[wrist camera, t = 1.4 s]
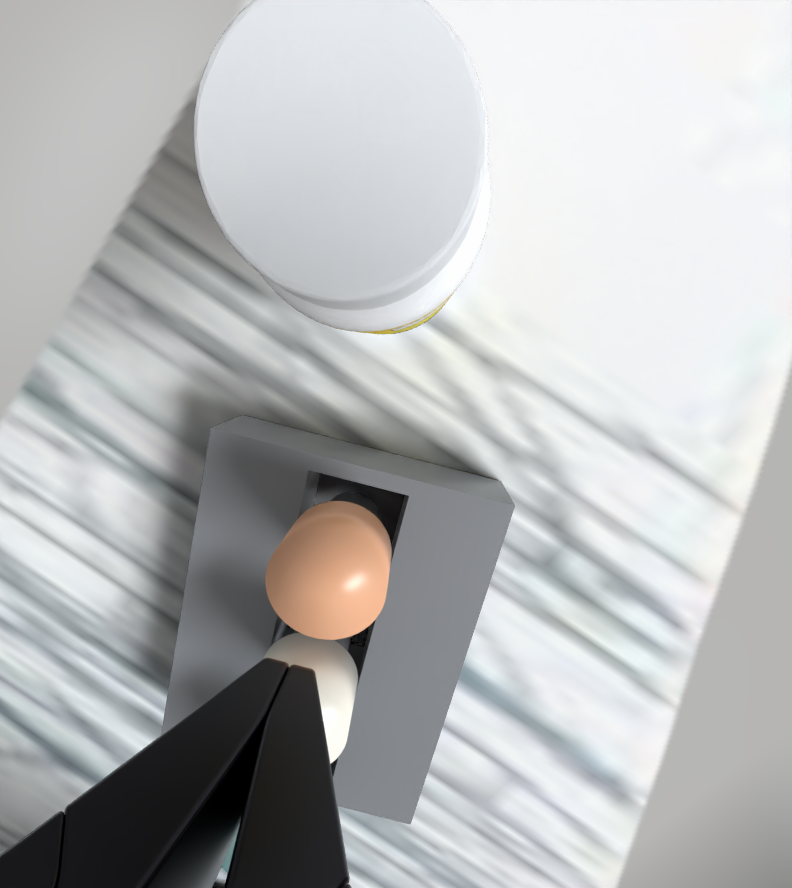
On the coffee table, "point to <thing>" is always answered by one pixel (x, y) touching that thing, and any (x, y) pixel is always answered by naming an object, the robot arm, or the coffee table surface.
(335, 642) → the cream white egg
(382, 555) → the peach orange egg
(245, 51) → the supplement bottle
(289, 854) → the robot arm
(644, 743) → the coffee table surface
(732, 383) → the coffee table surface
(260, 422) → the panel
